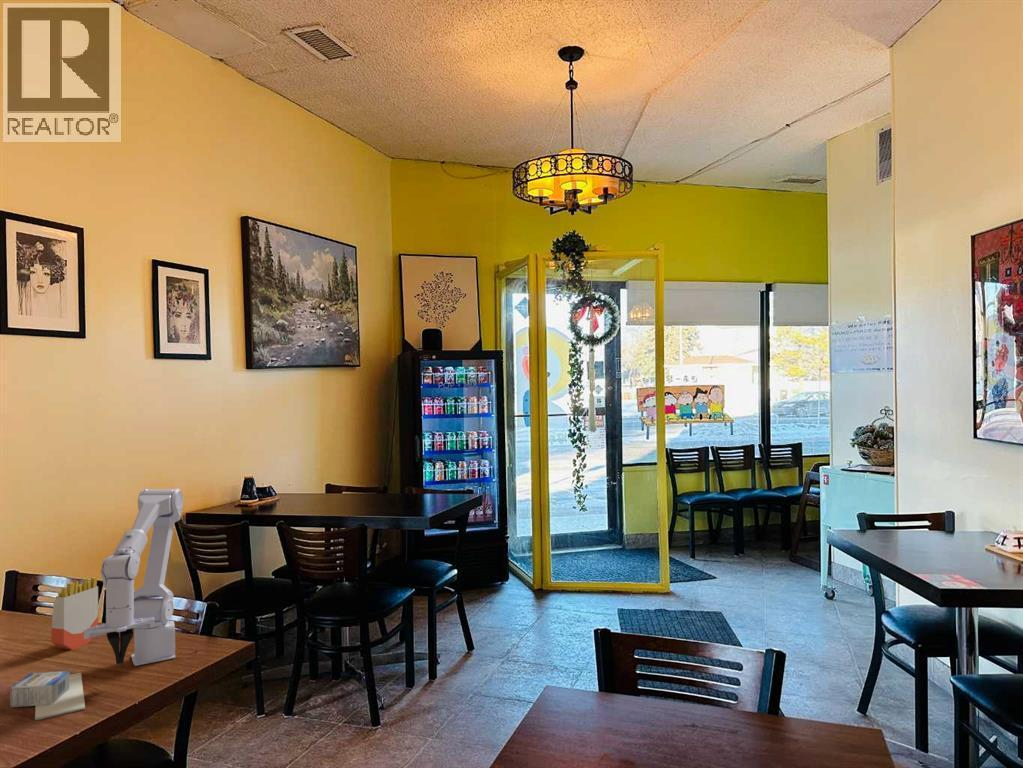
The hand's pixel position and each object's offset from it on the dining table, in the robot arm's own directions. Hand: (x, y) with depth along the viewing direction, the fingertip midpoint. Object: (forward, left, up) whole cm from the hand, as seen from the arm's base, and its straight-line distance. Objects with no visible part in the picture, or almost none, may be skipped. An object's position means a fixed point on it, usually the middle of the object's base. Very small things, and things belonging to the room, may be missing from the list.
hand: (119, 662), depth 161 cm
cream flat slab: (+12, -1, -5) cm, 13 cm away
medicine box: (+11, +1, -3) cm, 12 cm away
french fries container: (+8, -36, -6) cm, 37 cm away
